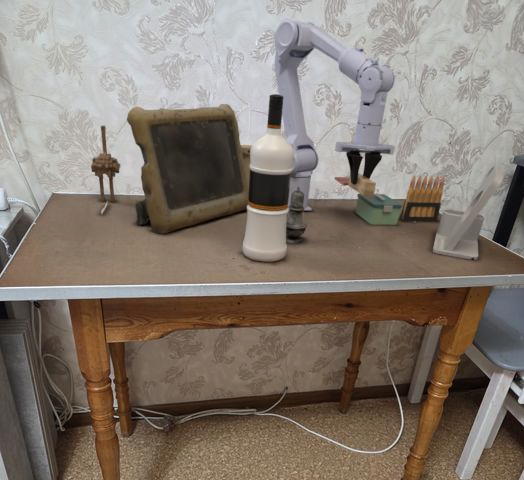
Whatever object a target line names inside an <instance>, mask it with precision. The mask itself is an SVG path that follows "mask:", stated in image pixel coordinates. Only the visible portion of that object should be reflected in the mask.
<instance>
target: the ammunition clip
mask: <svg viewBox="0 0 524 480" xmlns="http://www.w3.org/2000/svg"><path fill="white" fill-rule="evenodd" d="M439 179H440V178H439V175H437V176H436V177H435V180H434V176H433V175H431V176H430V178H429V179H428V177H427V175H425V176H424V178H423V180H422V175H421V174H420V175H419V176H418V178H417V180H416V175H415V174H414V175H413V176H412V178H411V180H410V183H409V187H408V190H407V193H406V197H405V200H404V202H403V204H402V208H401V213H400V216H399V220H401V221H402V222H438V219H439V214H440V210H441V205H442V202H441V201H442V197H443V193H444V186H445V179H446V177H445V175H443V176H442V177H441V179H440V180H439Z"/></svg>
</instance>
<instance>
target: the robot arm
mask: <svg viewBox="0 0 524 480" xmlns="http://www.w3.org/2000/svg"><path fill="white" fill-rule="evenodd" d="M273 39H274V46H275V55H274V72H275V79H276V84H277V90H278V95H281V96H283V97H284V98H283V109H282V121H283V127H284V133H285V134H284V135H285V140H286V141H287V142H288V143H289V144H290V145H291V146H292V148H293V150H294V160H293V165H292V168H293V170H292V172H291V180H290V190H289V200H288V207H289V206H290V203H291V194H292V192H294V191H296V190H297V188H298V186H299V187H300V189H299V190H300V191H301V192H303V193H304V202H303V207H304V210H303V212H307V211H308V212H311V211H313V209H312V207H310V206H309V205H308V204H309V197H310V188H311V179H312V175H313V172H314V170H316V168H317V167H318V165H319V153H318V152H317V150H316V148H315V145H314V141H313V140H312V138H311V137H310V136H309V135H308V134H307V128H306V122H305V114H304V107H303V101H302V94H301V89H300V88H301V87H300V81H299V75H298V74H299V73H298V68H299V66H300V64H301V63H303V62H304V60H305V59H306V58H307V57H308V56H309V55H310V54H311V53H312V52H313V51H314V49H316V50H318V51H319V52H321V53H323V54H324V55H326V56H327V57H329V58H330V59H332V60H334V61H335V62H337V63H338V70H339V72H340V73H342V74H343V75H344V76H346V77H347V78H349V79H350V80H352V81H353V82H354V83H356V84H357V85H358V87H359V89H360V97H359V98H360V102H359V103H360V104H359V109H358V115H357V123H356V128H355V133H354V139H353V141H339V142H338V141H336V142H335V147H334V152H337V153H345V155H346V159H347V162H348V165H349V166H348V167H349V172H350V173H351V183H352V184H356V183H357V179H358V173H360V167H361V165H362V161H363V160H364V165H363V172H362V175H363V176H365V177H366V178H368V179H370V180H371V177H372V175H373V173H374V171H375V169H376V167H378V164H380V162H381V161H382V158H383V154H384V155H391V156H392V155H393V156H394V153H395V149H396V146H395V145H394V144H393V145H392V144H383V143H379V141H380V135H381V130H382V125H383V120H384V114H385V109H386V104H387V98H388V93H389V92H390V91H391V90H392V89H393V87H394V84H395V81H396V80H395V77H396V75H395V72H394V71H393V69H392V68H391V67H390V65H388V64H381V65H380V64H379V59H378V58H376V57H373V58H372V57H370V55H367V54H366V53H365V52H364V50H365V49H364V48H363V47H362V46H360V45H356V46H355V45H354V46H349V47H345V46H344V45H343V44H342V43H341V42H340V41H338V40H337V39H336V38H335V37H333V36H332V35H331V34H329V33H328V32H327V31H326V30H324V29H323V28H322V27H321V26H319V25H315V23H313V22H310V21H309V22H306V21H305V22H304V21H301V20H294V19H291V18H285V19H283V20H282V21H280V22H279V24H278V26H277V28H276V30H275V32H274V34H273ZM362 154H364V159H363V156H362ZM381 154H382V155H381ZM350 173H349V174H350ZM288 210H289V208H288Z"/></svg>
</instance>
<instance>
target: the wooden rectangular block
mask: <svg viewBox="0 0 524 480" xmlns="http://www.w3.org/2000/svg"><path fill="white" fill-rule="evenodd" d="M334 180H335V181H336V182H338V183H340V184H341V185H343V186H348V187H350V188H351V189H353V190H354V191H356V192H357V193H358V194H362V195H363V196H368V197H373V196H374V194H375V190H376V185H377V184H376V182H375V181H373V180H371V178H370V179H368V178H366V177H365V176H363V174H361V173H360V172H358V179H357V183H356V184H352V183H351V173H349V177H348V176H347V177H345V176H343V177H342V176H334Z"/></svg>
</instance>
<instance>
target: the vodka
mask: <svg viewBox="0 0 524 480" xmlns="http://www.w3.org/2000/svg"><path fill="white" fill-rule="evenodd" d="M283 98H284V97H283V96H281V95H279V93H278V94H276V93H274V94H270V95H269V98H268V99H269V100H268V111H267V112H268V113H267V125H266V133H265V134H263V136H262V137H260V138H259V139H257V140H256V141H254V142H253V143H252V145H251V146H252V147H251V149H250V165H249V167H250V179H249V196H248V205H247V210H246V215H247V216H246V223H245V232H244V239H243V241H242V245H241V247H242V248H241V250H242V253H243V255H244V256H245V257H247V258H248V259H250V260H252V261H256V262H262V263H273V262H278V261H280V260H282V259H284V258H285V257H286V255H287V250H288V245H287V242H286V221H287V220H288V215H289V210H288V200H289V190H290V180H291V172H292V170H293V168H292V165H293V160H294V150H293V148H292V146H291V145H290V144H289V143H288V142H287V141H286V138H284V137H283V135H282V121H283V116H282V109H283Z"/></svg>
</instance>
